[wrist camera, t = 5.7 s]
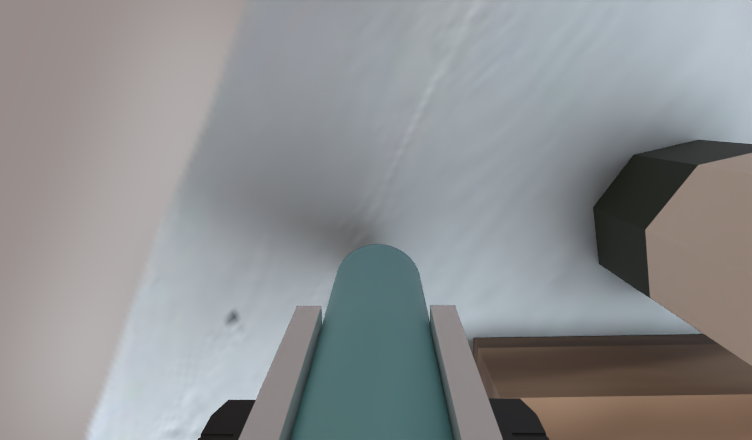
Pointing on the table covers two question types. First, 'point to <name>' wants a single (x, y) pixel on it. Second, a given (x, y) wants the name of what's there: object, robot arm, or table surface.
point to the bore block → (623, 385)
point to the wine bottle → (686, 235)
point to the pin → (374, 357)
